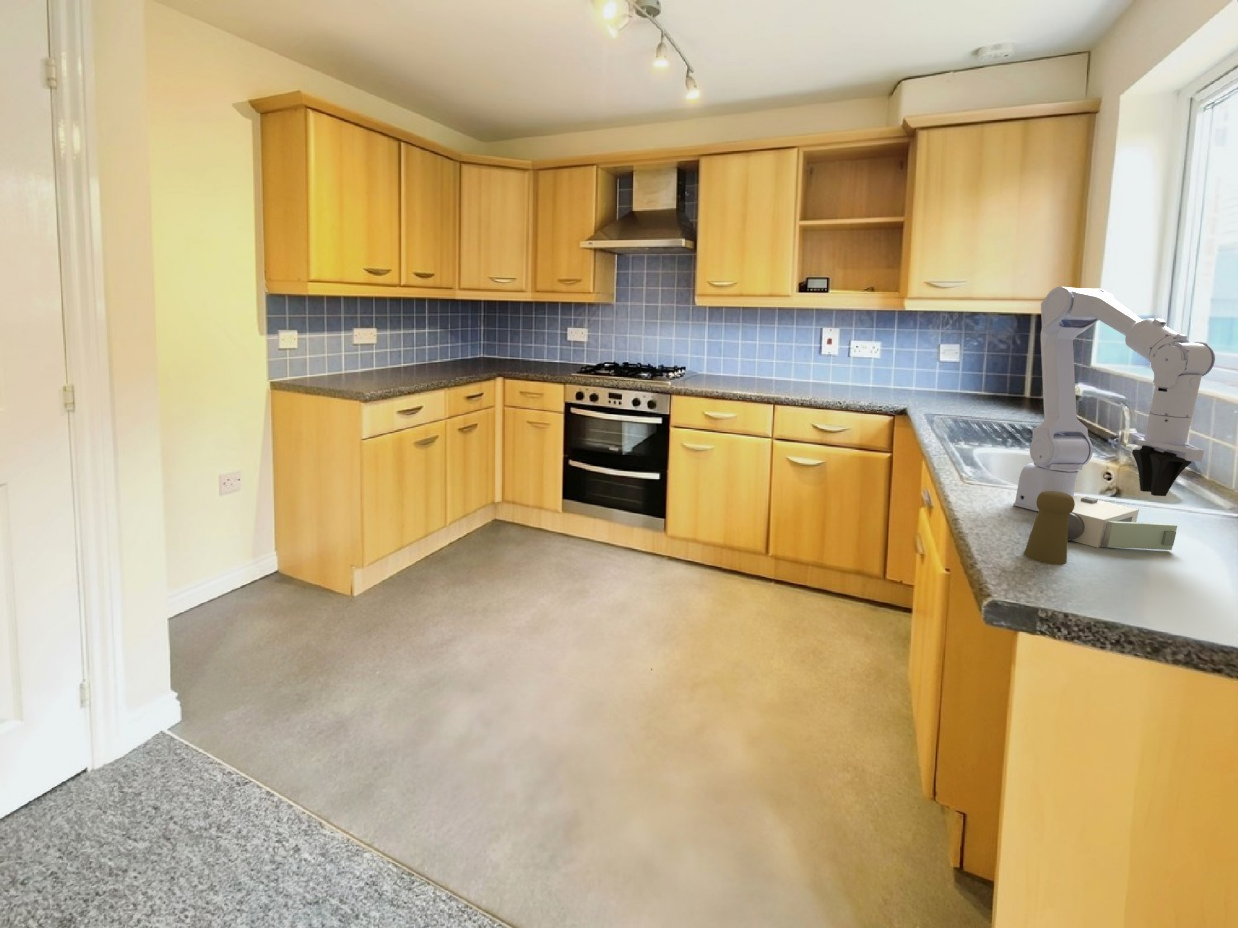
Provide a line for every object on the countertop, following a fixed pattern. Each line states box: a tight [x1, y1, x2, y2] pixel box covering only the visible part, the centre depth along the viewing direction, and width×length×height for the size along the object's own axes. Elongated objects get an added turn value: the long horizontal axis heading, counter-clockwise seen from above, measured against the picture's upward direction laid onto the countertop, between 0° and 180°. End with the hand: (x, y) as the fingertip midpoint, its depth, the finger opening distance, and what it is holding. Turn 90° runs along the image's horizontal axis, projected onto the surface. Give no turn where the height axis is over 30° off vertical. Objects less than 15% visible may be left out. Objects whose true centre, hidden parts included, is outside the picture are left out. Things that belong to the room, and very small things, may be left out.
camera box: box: [1067, 495, 1140, 548], centre depth 126 cm, size 10×16×6 cm, turn 124°
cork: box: [1023, 491, 1075, 565], centre depth 112 cm, size 6×6×11 cm
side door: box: [1102, 521, 1178, 551], centre depth 118 cm, size 2×11×4 cm, turn 89°
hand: (1152, 493), depth 119 cm, fingers open, 2 cm apart
